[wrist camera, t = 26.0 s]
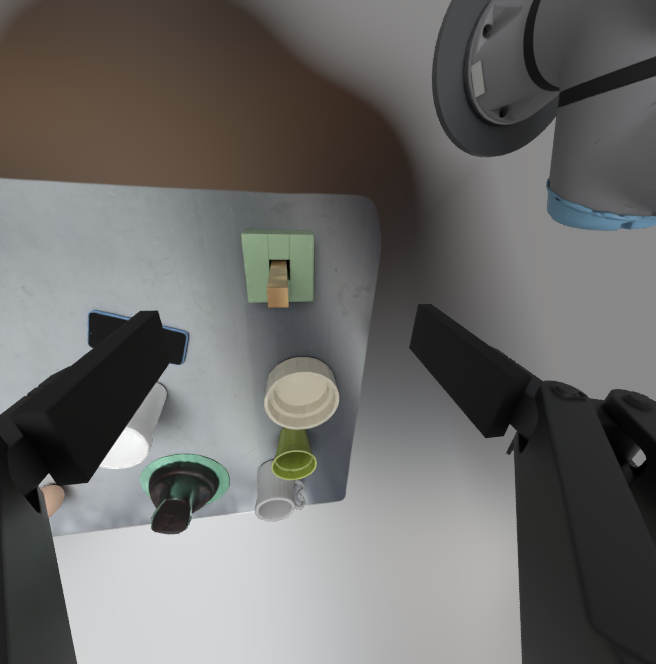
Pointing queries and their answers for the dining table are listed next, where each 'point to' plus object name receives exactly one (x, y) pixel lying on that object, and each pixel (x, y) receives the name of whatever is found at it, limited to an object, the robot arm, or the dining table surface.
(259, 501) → the mug
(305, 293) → the holder
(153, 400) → the cup
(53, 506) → the egg
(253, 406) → the dining table surface
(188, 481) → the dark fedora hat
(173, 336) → the smartphone
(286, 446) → the plant pot
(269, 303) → the stirring stick
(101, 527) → the dining table surface
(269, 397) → the bowl
